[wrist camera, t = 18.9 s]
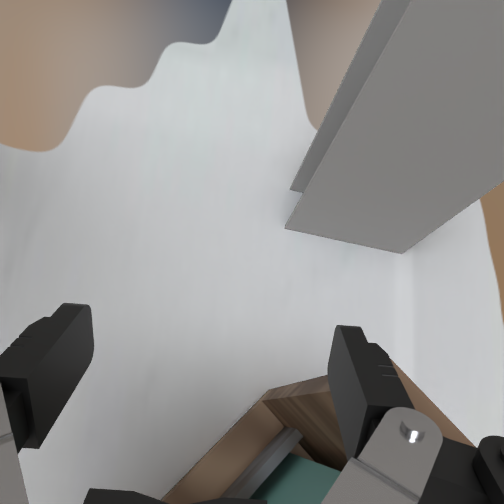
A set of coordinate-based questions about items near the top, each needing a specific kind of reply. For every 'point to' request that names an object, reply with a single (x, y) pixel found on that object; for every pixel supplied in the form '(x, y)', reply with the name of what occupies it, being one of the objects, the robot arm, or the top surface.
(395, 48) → the gray rectangular block
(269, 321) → the top surface
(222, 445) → the wooden display stand
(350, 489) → the robot arm
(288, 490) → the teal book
